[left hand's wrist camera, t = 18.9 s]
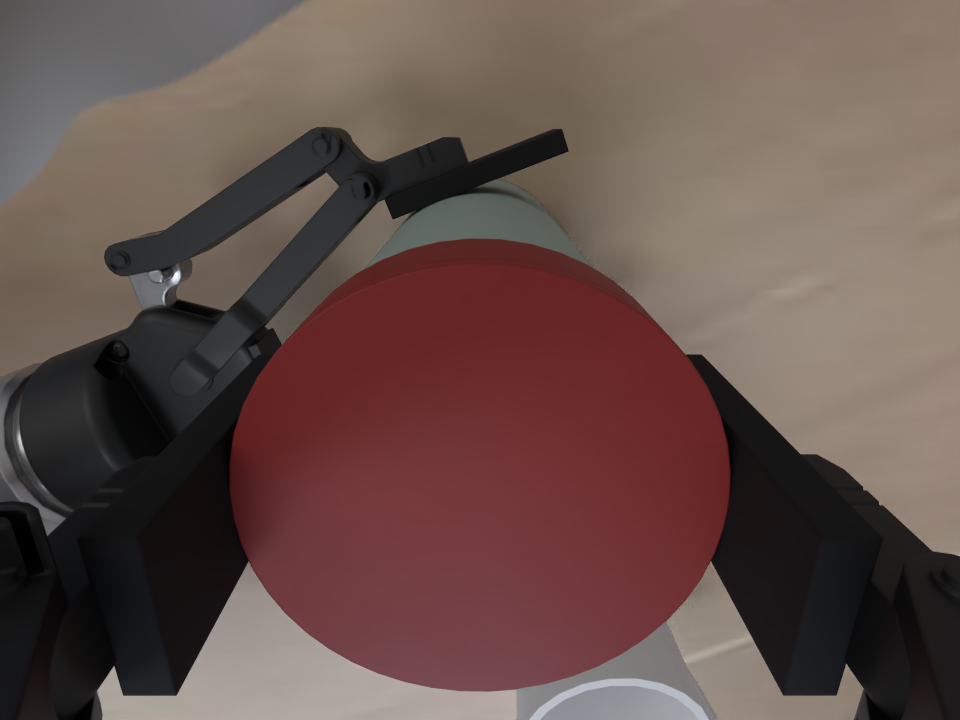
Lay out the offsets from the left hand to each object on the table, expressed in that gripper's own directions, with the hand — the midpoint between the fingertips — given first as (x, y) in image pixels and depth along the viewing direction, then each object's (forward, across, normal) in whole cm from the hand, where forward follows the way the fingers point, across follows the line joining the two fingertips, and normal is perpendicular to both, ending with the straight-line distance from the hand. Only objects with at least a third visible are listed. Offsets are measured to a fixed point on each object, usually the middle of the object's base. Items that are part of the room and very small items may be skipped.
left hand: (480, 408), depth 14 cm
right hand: (+10, -4, -2) cm, 11 cm away
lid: (-4, 0, 0) cm, 4 cm away
